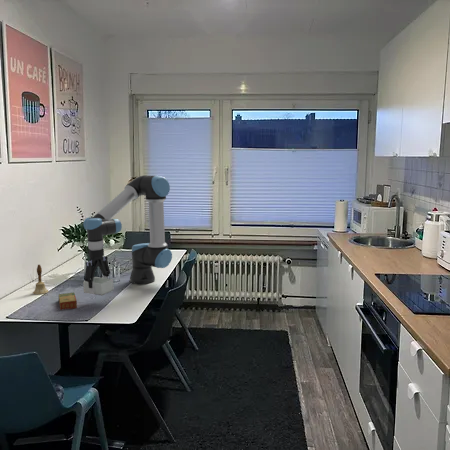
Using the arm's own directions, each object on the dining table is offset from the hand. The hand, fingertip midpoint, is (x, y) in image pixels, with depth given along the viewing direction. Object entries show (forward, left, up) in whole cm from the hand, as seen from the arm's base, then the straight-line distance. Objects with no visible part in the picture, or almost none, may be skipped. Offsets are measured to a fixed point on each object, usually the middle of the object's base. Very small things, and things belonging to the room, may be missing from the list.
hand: (98, 290), depth 236 cm
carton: (+8, -14, -7) cm, 18 cm away
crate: (0, 0, 0) cm, 0 cm away
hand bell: (0, -43, -7) cm, 44 cm away
